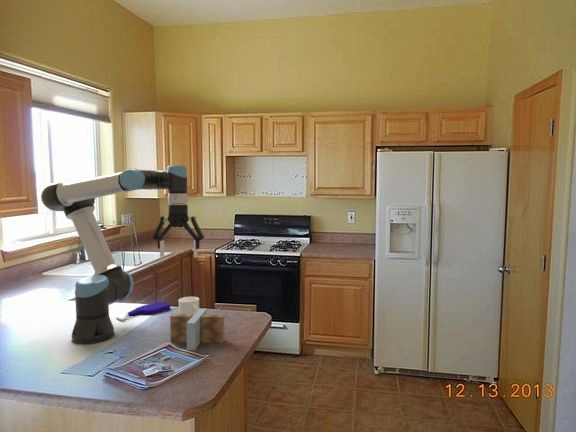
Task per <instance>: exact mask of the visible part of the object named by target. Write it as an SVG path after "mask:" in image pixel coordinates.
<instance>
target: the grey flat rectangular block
mask: <svg viewBox="0 0 576 432" xmlns="http://www.w3.org/2000/svg"><path fill="white" fill-rule="evenodd" d="M204 314H208V308H199V310H198V311H197V312H196V313H195V314H194V315H193V316H192V318H191V319H190V320H189V321H188V322H187V323H186V326H187V342H186V351H196V350H197V348H198V347H199V346H200V344H201V343H200V329H201V328H202V316H203V315H204Z"/></svg>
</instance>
